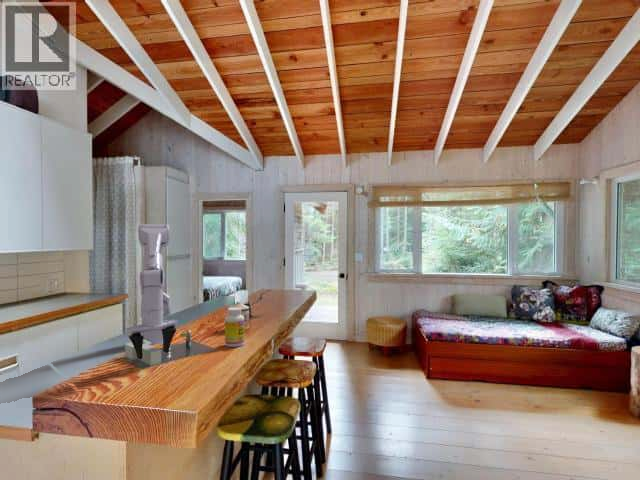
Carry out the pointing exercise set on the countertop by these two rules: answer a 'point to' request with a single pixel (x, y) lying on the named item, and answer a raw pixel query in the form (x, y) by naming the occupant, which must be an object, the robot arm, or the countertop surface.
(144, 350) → the link
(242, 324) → the supplement bottle
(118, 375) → the countertop surface
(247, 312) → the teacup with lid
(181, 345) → the base plate
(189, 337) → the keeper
